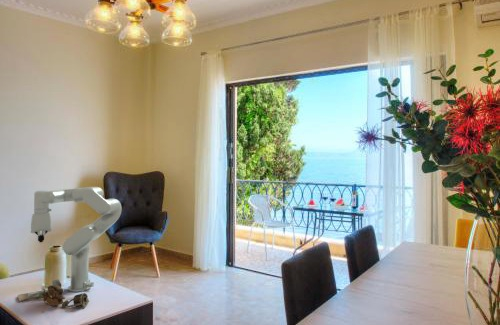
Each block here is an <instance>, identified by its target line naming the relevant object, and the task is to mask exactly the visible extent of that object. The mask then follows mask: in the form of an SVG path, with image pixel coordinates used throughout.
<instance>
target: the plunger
mask: <svg viewBox="0 0 500 325" xmlns="http://www.w3.org/2000/svg"><path fill="white" fill-rule="evenodd" d="M45 290H46V284H45V283H41V290H40V291H41V292H42V291H44V293H45Z"/></svg>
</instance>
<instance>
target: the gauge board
mask: <svg viewBox="0 0 500 325" xmlns="http://www.w3.org/2000/svg"><path fill="white" fill-rule="evenodd" d="M52 285H53V286H54V285H58V286H60V287H61V288H62V283H61V282H60V280H59V279H53V280H52ZM49 286H50V285H48V286H47V288H48V287H49ZM45 292H48V289H45ZM43 293H44V291H42V292H41V290H39V291H33V292H27V293H21V294H17V301H18V303H24V302H30V301H35V300H40V299H41V300H42V299H43V297H42V294H43Z"/></svg>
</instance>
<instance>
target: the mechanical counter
mask: <svg viewBox="0 0 500 325" xmlns="http://www.w3.org/2000/svg"><path fill="white" fill-rule="evenodd" d="M72 302H73V304H70V303H72ZM89 302H90V300H89V297H88V294H87V293H86V292H82V293H79V294H75V295H74V297H73V298H72V299H69V300H65V301H63V303H62V304H61V308H63V309H64V308H73V307H75V308H80V307H81V308H83V309H85V308H86V307H87V305H88V304H89Z"/></svg>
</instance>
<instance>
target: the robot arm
mask: <svg viewBox="0 0 500 325" xmlns="http://www.w3.org/2000/svg"><path fill="white" fill-rule="evenodd" d="M33 195H34V199H33V200H34V201H33V202H34V203H33V207H34V209H33V213H32V215H31V221H30V222H31V223H30V234H36V235H37V241H38V242H39V243H44V241H45V235H46V234H47V233H49V232H52V219H51V213H50V212H52V208H49V205H52V204H58V203H63V202H64V203H65V202H74V203H86V205H88V206H89V207H90V208H92V209H93V210H94V211H95V212H97V213H98V214H99V215H100V216H99V217H98V218H97V219H96V220H94V221H93V222H92V223H90V224H87V225H85V226H82V227H80V228H79V229H77V230H76V231H75V232H74V233H73V234H72V235H71V236H69V237H68V238H67V239H65V241H64V243H63V244H62V249H63V252H64V253H65V254H66V255H68V256H69V255H70V256H71V258H70V285H69V286H67V291H69V292H71V293H74V292H75V293H78V292H84V291H87V290H90V289H91V288H92V287H94V286H95V285H94V284H95V282H91V279H89V262H90V260H89V259H90V258H89V257H90V249H91V243H92V242H93V241H95V240H97V239H99V238H100V236H102V235H103V234H104V233H105V232H106V231H108V230H109V229H110V228H111V227H112V226H113V225H114V224H115V223H116V222H117V221H118V220H119V218H120V217H121V214H122V209H123V208H122V204H121V201H120V200H118V199H116V198H107V199H106V198H104V195H105V194H104V190H103V189H102V188H101V187H98V186H87V187H86V186H85V187H74V188H70V189H57V190H49V191H48V190H36V191H35V192H34V194H33ZM41 231H42V232H41Z"/></svg>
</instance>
